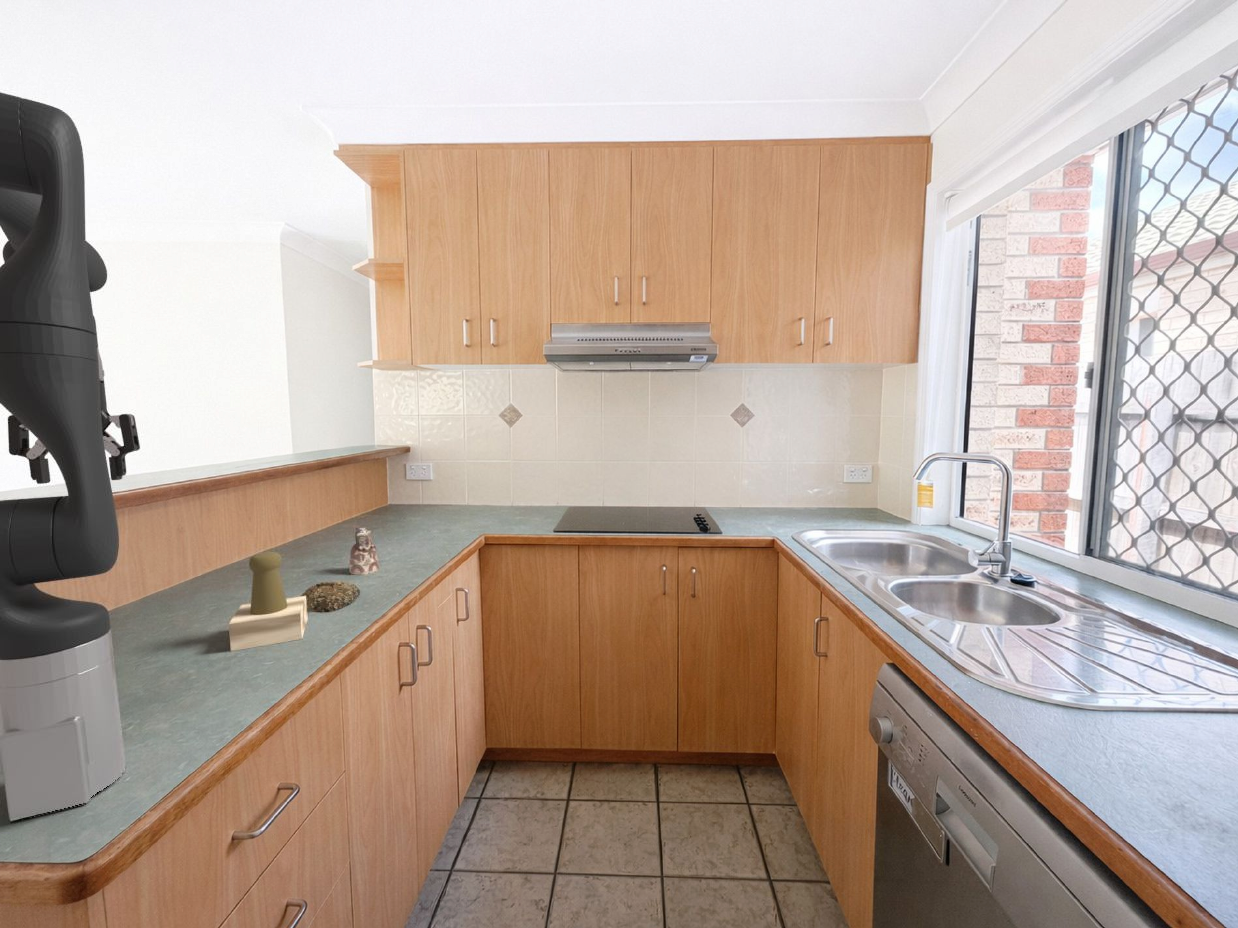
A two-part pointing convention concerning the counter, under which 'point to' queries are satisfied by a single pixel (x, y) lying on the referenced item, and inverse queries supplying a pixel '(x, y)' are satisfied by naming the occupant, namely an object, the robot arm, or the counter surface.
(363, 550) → the figurine
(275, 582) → the olive knobbed peg
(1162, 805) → the counter surface
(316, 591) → the bread roll
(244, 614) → the ash block
